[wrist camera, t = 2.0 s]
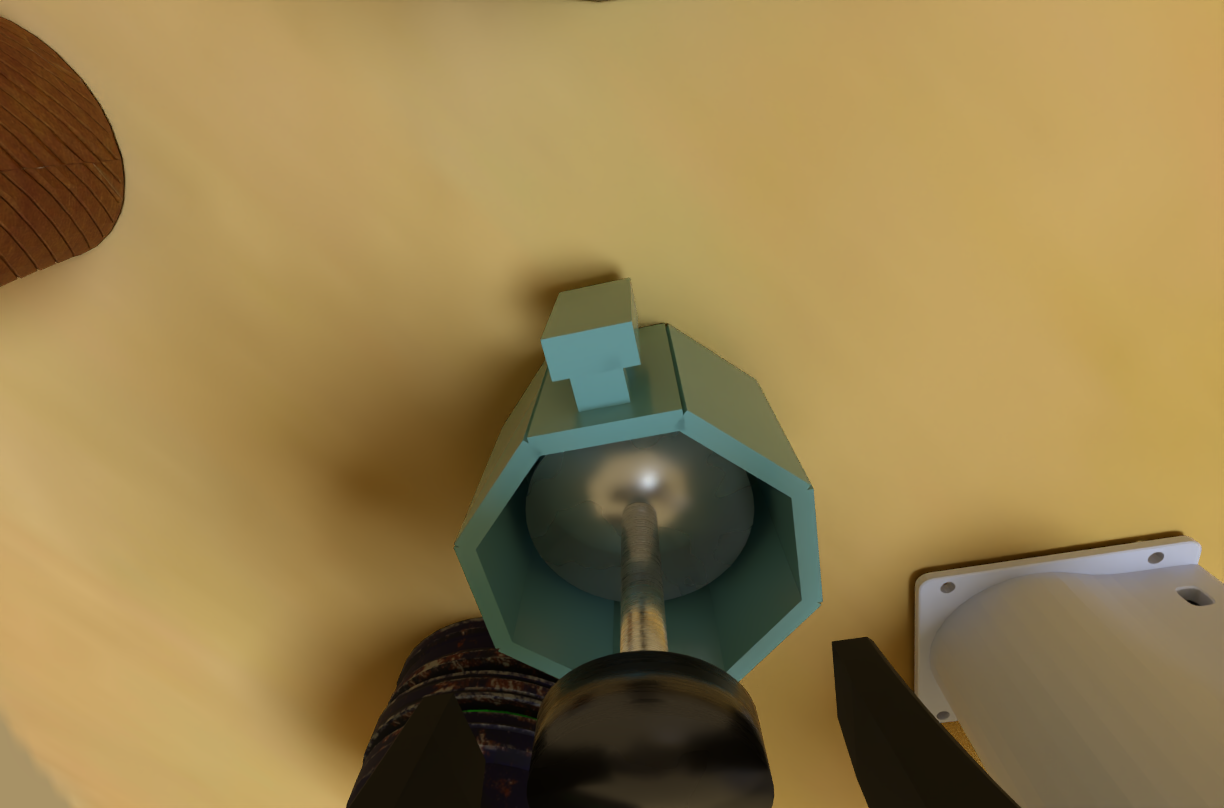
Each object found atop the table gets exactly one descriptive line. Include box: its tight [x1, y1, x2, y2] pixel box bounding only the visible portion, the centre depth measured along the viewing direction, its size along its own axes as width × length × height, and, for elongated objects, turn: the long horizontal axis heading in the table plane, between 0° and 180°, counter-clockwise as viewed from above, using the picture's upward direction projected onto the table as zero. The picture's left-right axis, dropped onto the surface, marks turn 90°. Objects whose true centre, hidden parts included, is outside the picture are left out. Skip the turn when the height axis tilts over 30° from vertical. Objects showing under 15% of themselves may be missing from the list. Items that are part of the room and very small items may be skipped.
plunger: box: [526, 431, 774, 808], centre depth 13 cm, size 6×6×8 cm
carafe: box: [454, 278, 823, 682], centre depth 16 cm, size 8×10×6 cm
